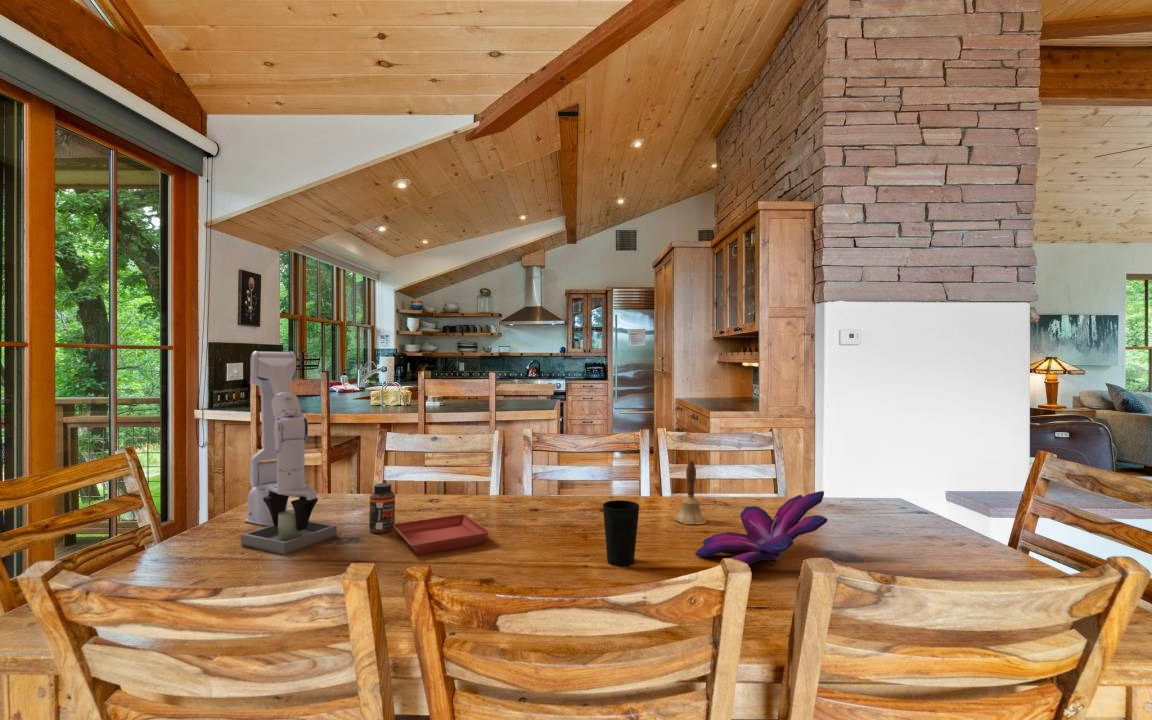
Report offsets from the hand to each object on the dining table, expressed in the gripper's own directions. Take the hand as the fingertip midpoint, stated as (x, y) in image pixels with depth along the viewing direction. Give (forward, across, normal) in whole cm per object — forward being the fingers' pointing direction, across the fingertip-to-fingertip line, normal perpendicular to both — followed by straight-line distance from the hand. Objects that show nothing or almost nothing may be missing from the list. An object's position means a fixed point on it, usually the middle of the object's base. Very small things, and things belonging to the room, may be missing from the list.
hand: (290, 527), depth 127 cm
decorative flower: (+3, -101, -34) cm, 106 cm away
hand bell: (+3, -81, -56) cm, 99 cm away
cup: (+3, -74, -20) cm, 77 cm away
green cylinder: (+3, 0, 0) cm, 3 cm away
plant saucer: (+4, -31, -15) cm, 35 cm away
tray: (+3, 0, 0) cm, 3 cm away
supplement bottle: (+3, -14, -15) cm, 20 cm away
